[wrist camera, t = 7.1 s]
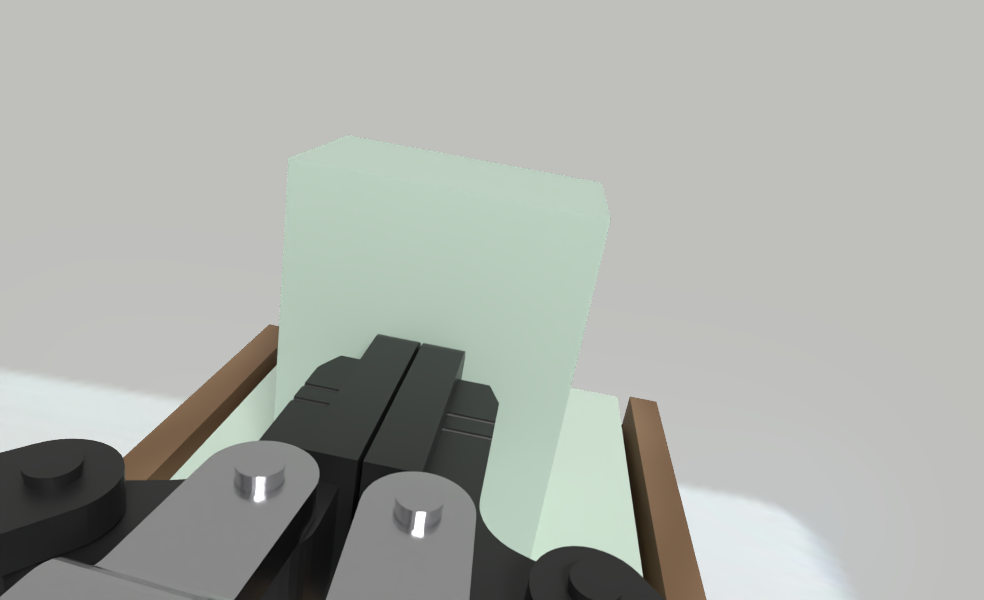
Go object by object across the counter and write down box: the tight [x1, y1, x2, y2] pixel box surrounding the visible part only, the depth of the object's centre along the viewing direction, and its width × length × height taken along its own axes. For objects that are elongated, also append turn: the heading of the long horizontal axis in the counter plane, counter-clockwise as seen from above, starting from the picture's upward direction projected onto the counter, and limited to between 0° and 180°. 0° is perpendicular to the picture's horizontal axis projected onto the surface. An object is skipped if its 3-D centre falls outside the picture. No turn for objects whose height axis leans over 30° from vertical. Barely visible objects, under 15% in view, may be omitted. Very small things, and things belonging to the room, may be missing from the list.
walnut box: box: [123, 325, 706, 600], centre depth 18 cm, size 12×8×7 cm, turn 84°
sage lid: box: [170, 135, 643, 577], centre depth 15 cm, size 10×8×8 cm
